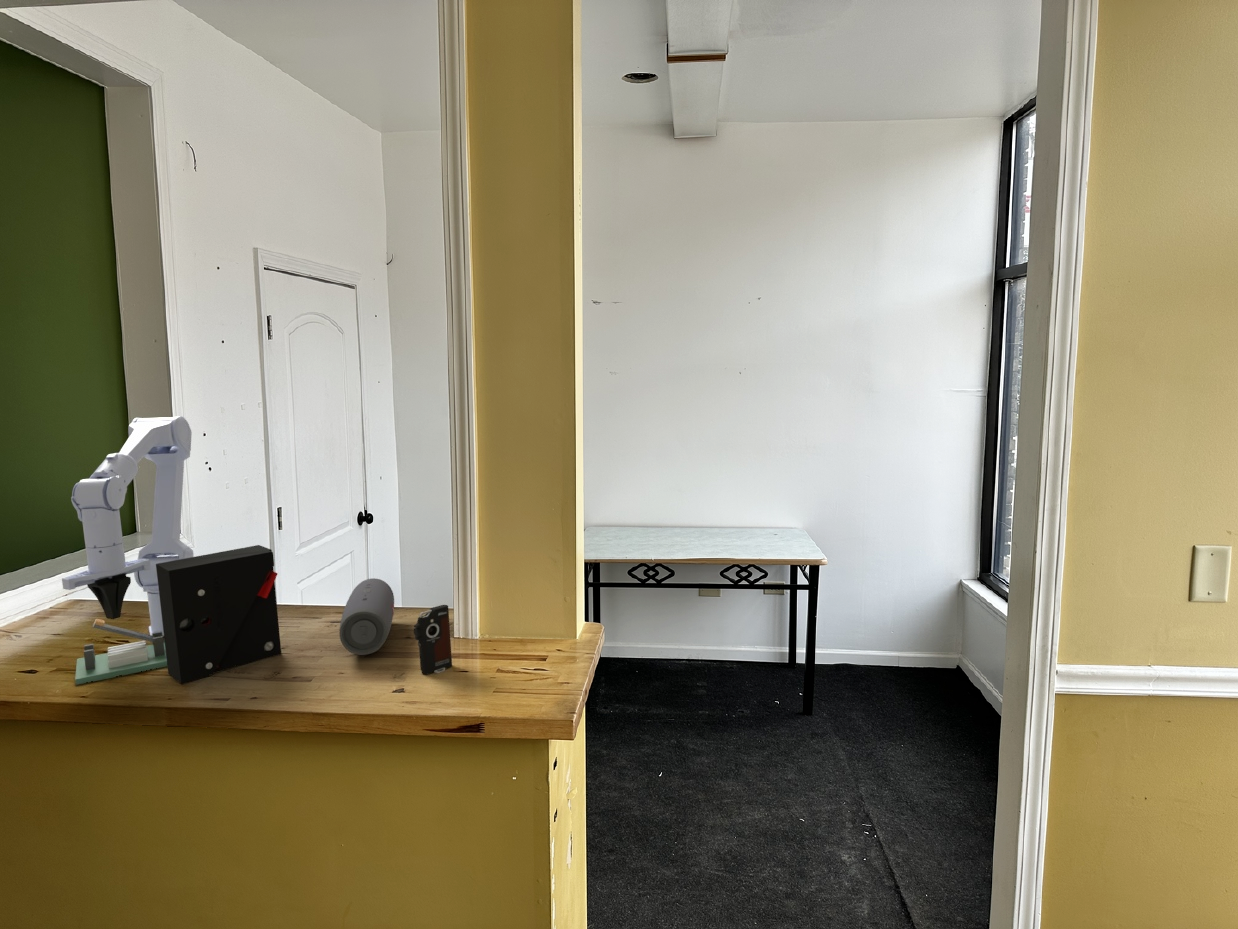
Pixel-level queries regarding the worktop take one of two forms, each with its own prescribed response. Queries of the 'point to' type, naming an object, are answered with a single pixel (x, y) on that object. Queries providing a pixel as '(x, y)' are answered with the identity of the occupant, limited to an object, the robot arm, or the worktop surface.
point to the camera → (434, 640)
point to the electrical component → (218, 611)
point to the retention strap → (121, 630)
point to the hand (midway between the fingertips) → (113, 617)
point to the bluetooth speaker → (367, 617)
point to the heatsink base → (121, 660)
